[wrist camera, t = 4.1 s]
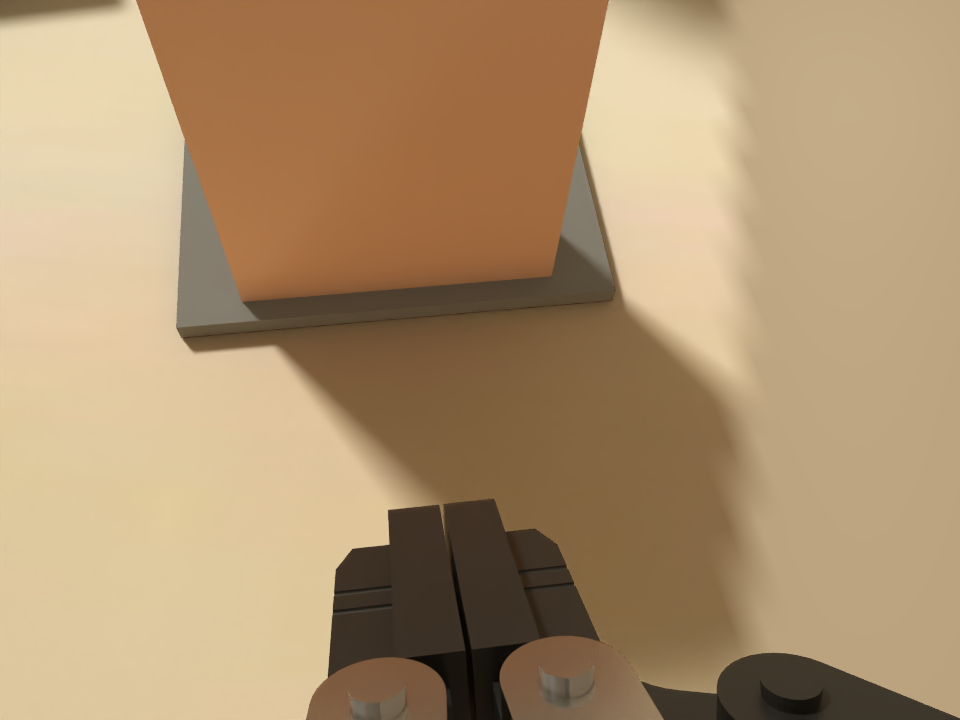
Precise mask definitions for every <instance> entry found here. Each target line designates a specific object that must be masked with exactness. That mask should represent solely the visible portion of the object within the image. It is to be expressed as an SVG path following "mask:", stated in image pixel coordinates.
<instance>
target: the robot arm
mask: <svg viewBox="0 0 960 720" xmlns="http://www.w3.org/2000/svg"><path fill="white" fill-rule="evenodd" d="M443 519H444V529H443V524H442V518H441V513H440V507H439V505H432V506H422V507H413V508H404V509H394V510H388V520H389V541H390V545H384V546H375V547H365V548H356V549H352V550H351V552H350V553H349V554H348V555H347V557H346V558H345V559H344V560H343V562H342V563H341V564H340V565H339V566H338V568H337V569H336V575H335V589H334V595H335V596H334V602H333V615H332V629H331V642H330V656H329V669H328V678H327V679H326V680H325V681H324V682H323V683H322V684H321V685H320V686H319V687H318V688H317V690H316V691H315V693H314V694H313V696H312V699H311V702H310V704H309V709H308V714H307V718H306V720H960V718H957V717H955V716H952V715H950V714H948V713H945V712H943V711H940V710H938V709H935V708H933V707H930V706H928V705H925V704H923V703H920V702H918V701H915V700H913V699H911V698H908V697H906V696H903V695H901V694H898V693H896V692H893V691H891V690H888V689H886V688H883V687H881V686H878V685H876V684H873V683H871V682H868V681H866V680H864V679H861V678H858V677H856V676H854V675H851V674H849V673H846V672H844V671H841V670H839V669H836V668H834V667H831V666H829V665H827V664H824V663H821V662H819V661H816V660H813V659H810V658H806V657H802V656H798V655H792V654H785V653H762V654H756V655H750V656H747V657H744V658H741V659H739V660H737V661H735V662H733V663H731V664H730V665H729V666H727V667H726V668H725V669H724V671H723V672H722V673H721V675H720V677H719V679H718V684H717V694H711V693H701V692H690V691H679V690H672V689H665V688H661V687H657V686H653V685H650V684H647V683H644V682H641V681H640V680H639V678H638V676H637V675H636V673H635V671H634V670H633V668H632V666H631V665H630V663H629V662H628V661H627V659H626V658H625V657H624V656H623V655H622V654H621V653H620V652H618V651H617V650H615V649H614V648H612V647H611V646H609V645H606V644H604V643H602V642H600V640H599V638H598V636H597V634H596V631H595V629H594V627H593V624H592V622H591V620H590V618H589V615H588V613H587V611H586V609H585V606H584V604H583V602H582V600H581V597H580V595H579V593H578V591H577V588H576V586H575V587H574V581H573V579H572V577H571V575H570V572H569V570H568V569H567V568H566V563H565V561H564V559H563V557H562V554H561V552H560V550H559V548H558V545H557V544H556V543H554V542H553V541H551V540H550V539H549V538H547V537H546V536H544V535H543V534H541V533H540V532H539V531H537V530H536V529H528V530H519V531H510V532H505V530H504V527H503V524H502V521H501V518H500V515H499V512H498V509H497V506H496V503H495V500H494V499H487V500H478V501H468V502H459V503H449V504H443ZM444 533H445V535H444Z"/></svg>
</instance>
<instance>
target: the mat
mask: <svg viewBox="0 0 960 720" xmlns="http://www.w3.org/2000/svg"><path fill="white" fill-rule="evenodd" d="M614 293H615V286H614V282H613V278H612V274H611V270H610V266H609V262H608V258H607V254H606V250H605V246H604V242H603V238H602V234H601V230H600V226H599V222H598V218H597V214H596V210H595V206H594V202H593V198H592V194H591V190H590V186H589V182H588V179H587V175H586V171H585V167H584V163H583V159H582V155H581V151H580V147H579V146H578V151H577V156H576V161H575V165H574V170H573V175H572V180H571V185H570V190H569V194H568V199H567V204H566V209H565V214H564V219H563V223H562V228H561V233H560V238H559V243H558V248H557V253H556V257H555V262H554V267H553V272H552V276H550V277H538V278H525V279H513V280H501V281H489V282H477V283H465V284H453V285H441V286H429V287H417V288H405V289H393V290H381V291H369V292H357V293H345V294H333V295H321V296H309V297H297V298H285V299H272V300H260V301H248V302H242V300H241V298H240V295H239V292H238V289H237V286H236V283H235V281H234V278H233V275H232V272H231V269H230V266H229V263H228V261H227V258H226V255H225V252H224V249H223V246H222V243H221V241H220V238H219V235H218V232H217V229H216V226H215V224H214V221H213V218H212V215H211V212H210V209H209V206H208V204H207V201H206V198H205V195H204V192H203V189H202V186H201V184H200V181H199V178H198V175H197V172H196V169H195V166H194V164H193V161H192V158H191V155H190V152H189V149H188V147H187V144H186V141H185V148H184V170H183V192H182V214H181V236H180V258H179V280H178V302H177V324H176V328H177V330H178V332H179V334H180V336H181V338H182V337H193V336H205V335H216V334H228V333H240V332H251V331H263V330H274V329H286V328H297V327H309V326H320V325H332V324H343V323H355V322H367V321H378V320H390V319H401V318H413V317H424V316H436V315H447V314H459V313H470V312H482V311H494V310H505V309H517V308H528V307H540V306H551V305H563V304H574V303H586V302H597V301H609V300H612V299H613V296H614Z"/></svg>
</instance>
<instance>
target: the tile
mask: <svg viewBox="0 0 960 720" xmlns="http://www.w3.org/2000/svg"><path fill="white" fill-rule="evenodd" d="M136 1H137V4H138V7H139V10H140V13H141V15H142V18H143V21H144V24H145V27H146V30H147V33H148V35H149V38H150V41H151V44H152V47H153V50H154V52H155V55H156V58H157V61H158V64H159V67H160V70H161V72H162V75H163V78H164V81H165V84H166V87H167V90H168V92H169V95H170V98H171V101H172V104H173V107H174V109H175V112H176V115H177V118H178V121H179V124H180V127H181V129H182V132H183V135H184V138H185V141H186V144H187V147H188V149H189V152H190V155H191V158H192V161H193V164H194V166H195V169H196V172H197V175H198V178H199V181H200V184H201V186H202V189H203V192H204V195H205V198H206V201H207V204H208V206H209V209H210V212H211V215H212V218H213V221H214V224H215V226H216V229H217V232H218V235H219V238H220V241H221V243H222V246H223V249H224V252H225V255H226V258H227V261H228V263H229V266H230V269H231V272H232V275H233V278H234V281H235V283H236V286H237V289H238V292H239V295H240V298H241V300H242V302H248V301H260V300H272V299H285V298H297V297H309V296H321V295H333V294H345V293H357V292H369V291H381V290H393V289H405V288H417V287H429V286H441V285H453V284H465V283H477V282H489V281H501V280H513V279H525V278H538V277H550V276H552V272H553V267H554V262H555V257H556V253H557V248H558V243H559V238H560V233H561V228H562V223H563V219H564V214H565V209H566V204H567V199H568V194H569V190H570V185H571V180H572V175H573V170H574V165H575V161H576V156H577V151H578V146H579V141H580V136H581V131H582V127H583V122H584V117H585V112H586V107H587V102H588V98H589V93H590V88H591V83H592V78H593V73H594V68H595V64H596V59H597V54H598V49H599V44H600V39H601V35H602V30H603V25H604V20H605V15H606V10H607V6H608V1H609V0H136Z"/></svg>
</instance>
